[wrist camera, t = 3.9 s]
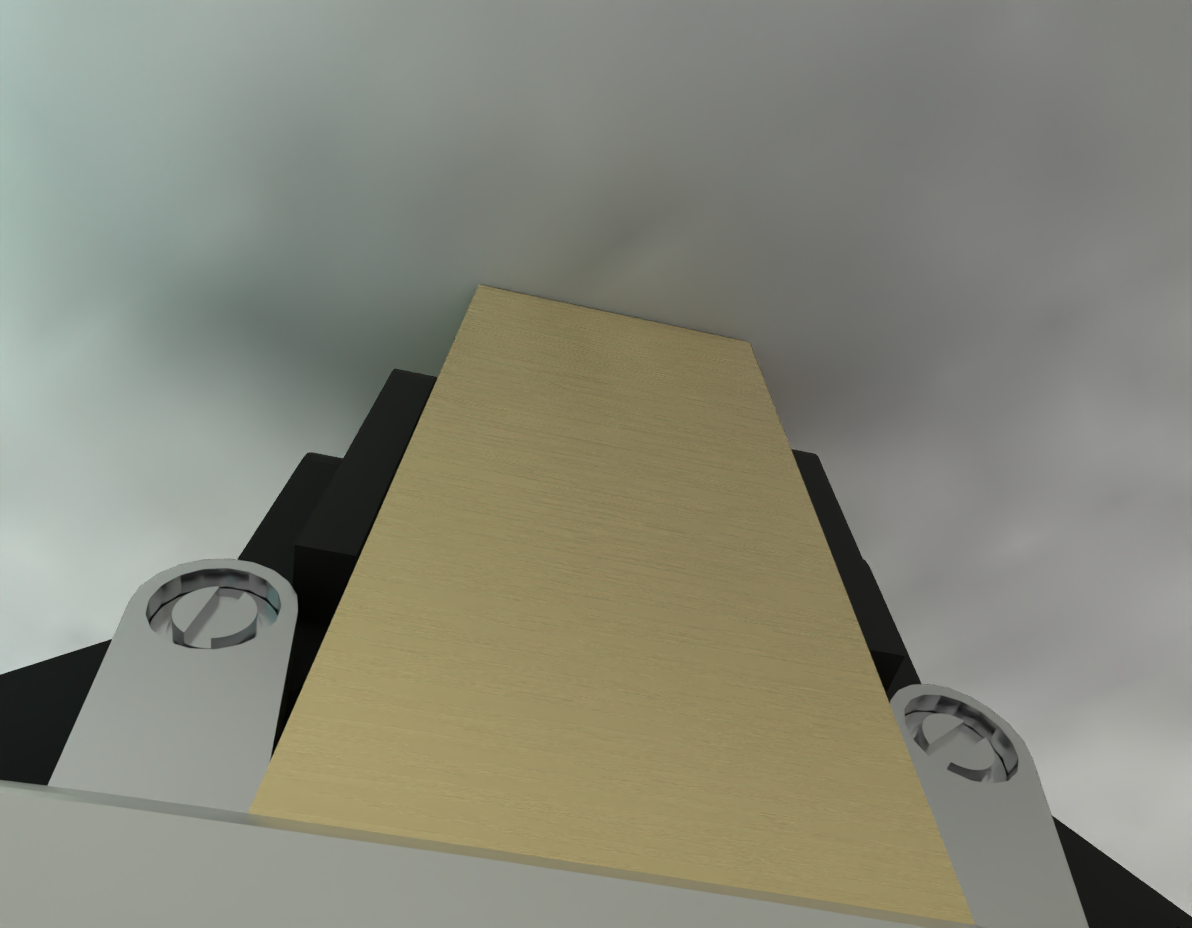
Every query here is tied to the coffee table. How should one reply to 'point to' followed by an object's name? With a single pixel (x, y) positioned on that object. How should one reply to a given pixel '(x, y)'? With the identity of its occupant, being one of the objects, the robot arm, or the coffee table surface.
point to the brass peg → (610, 632)
